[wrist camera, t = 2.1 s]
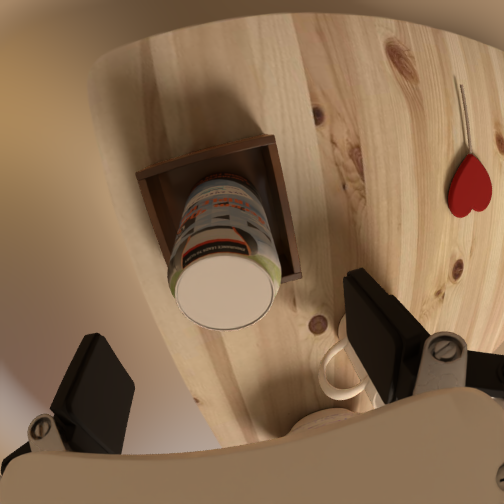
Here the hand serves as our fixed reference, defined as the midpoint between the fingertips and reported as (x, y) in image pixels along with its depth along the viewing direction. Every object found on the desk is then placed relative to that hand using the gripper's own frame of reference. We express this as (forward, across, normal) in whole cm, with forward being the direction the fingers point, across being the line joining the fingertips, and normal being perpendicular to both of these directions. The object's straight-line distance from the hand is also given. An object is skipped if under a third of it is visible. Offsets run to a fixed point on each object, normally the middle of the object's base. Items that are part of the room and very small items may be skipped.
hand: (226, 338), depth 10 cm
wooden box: (+16, 0, 0) cm, 16 cm away
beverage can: (+16, 0, 0) cm, 16 cm away
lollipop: (+16, -28, -2) cm, 32 cm away
